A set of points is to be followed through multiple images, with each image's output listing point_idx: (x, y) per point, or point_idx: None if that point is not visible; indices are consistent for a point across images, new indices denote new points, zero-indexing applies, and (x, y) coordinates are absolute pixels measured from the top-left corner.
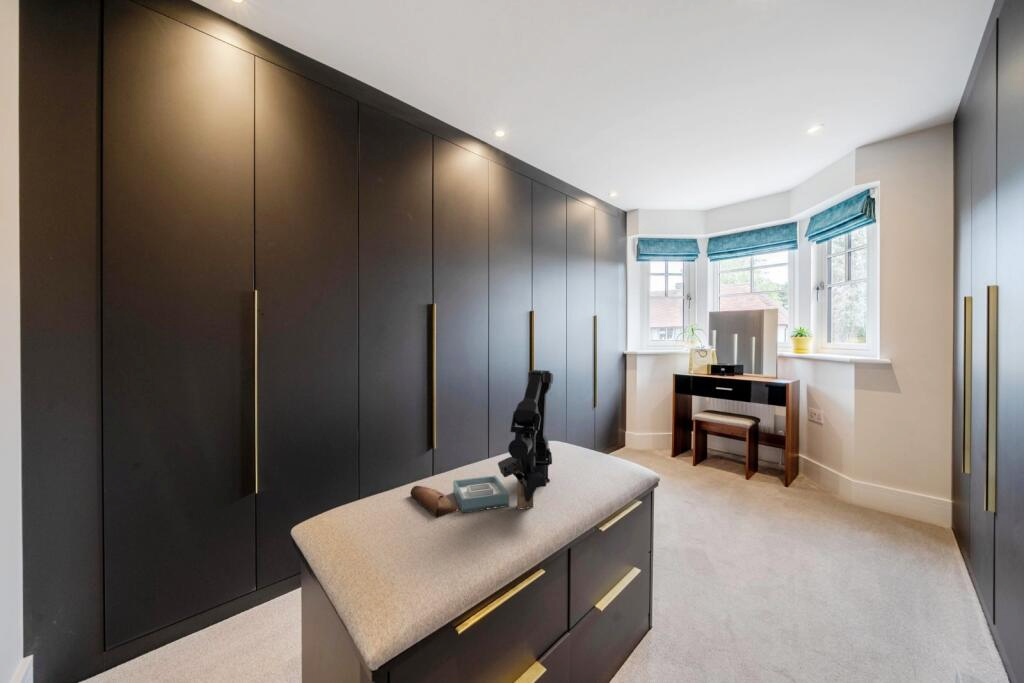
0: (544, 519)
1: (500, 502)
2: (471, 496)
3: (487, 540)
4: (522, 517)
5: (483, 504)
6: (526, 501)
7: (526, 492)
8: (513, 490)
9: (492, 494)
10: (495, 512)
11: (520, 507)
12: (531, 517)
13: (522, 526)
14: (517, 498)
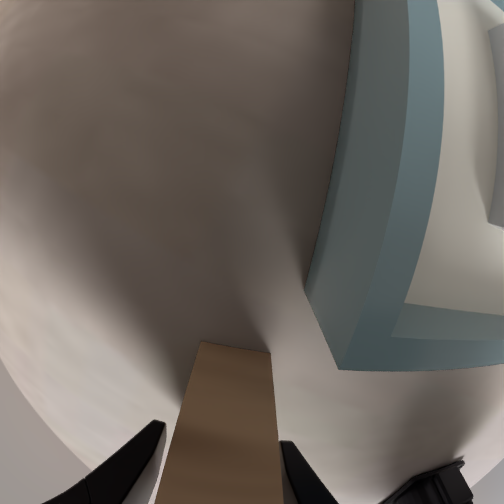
0: (46, 374)
1: (339, 208)
2: (494, 34)
3: (18, 11)
4: (79, 287)
5: (368, 25)
6: (152, 422)
7: (81, 484)
8: (451, 399)
9: (441, 106)
10: (254, 109)
11: (197, 355)
12: (69, 337)
13: (3, 222)
14: (263, 400)
